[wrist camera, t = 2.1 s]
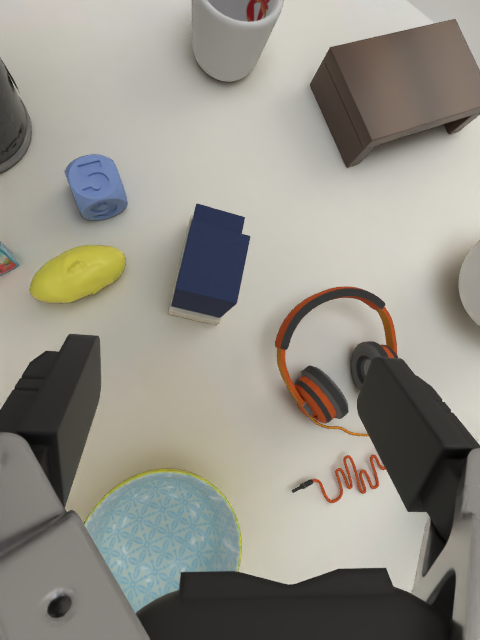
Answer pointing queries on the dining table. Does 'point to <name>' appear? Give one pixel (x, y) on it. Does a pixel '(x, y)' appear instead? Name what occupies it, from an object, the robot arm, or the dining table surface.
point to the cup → (231, 34)
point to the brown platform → (397, 87)
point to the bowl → (163, 532)
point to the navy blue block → (210, 266)
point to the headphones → (317, 388)
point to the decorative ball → (471, 283)
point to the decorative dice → (96, 187)
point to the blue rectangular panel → (6, 260)
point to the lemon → (77, 273)
